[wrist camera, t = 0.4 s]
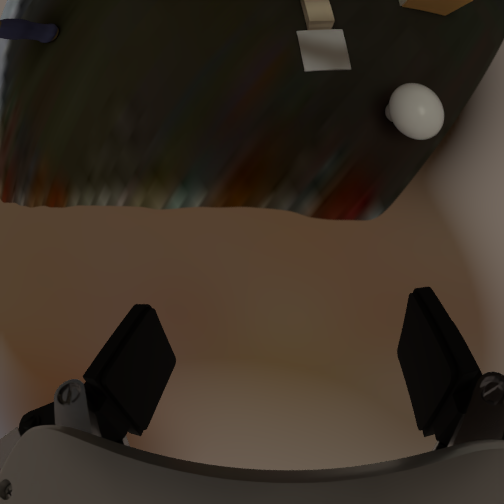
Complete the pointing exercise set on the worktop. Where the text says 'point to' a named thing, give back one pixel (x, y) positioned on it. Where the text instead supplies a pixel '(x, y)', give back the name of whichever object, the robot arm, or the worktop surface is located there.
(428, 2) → the tile
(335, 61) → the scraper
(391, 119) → the lightbulb
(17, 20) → the rubber mallet
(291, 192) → the worktop surface
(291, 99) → the worktop surface
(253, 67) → the worktop surface
